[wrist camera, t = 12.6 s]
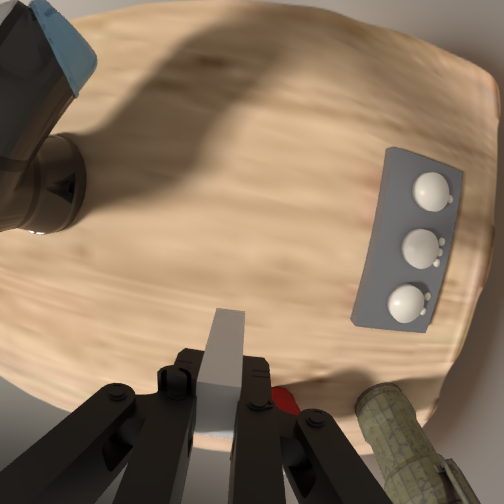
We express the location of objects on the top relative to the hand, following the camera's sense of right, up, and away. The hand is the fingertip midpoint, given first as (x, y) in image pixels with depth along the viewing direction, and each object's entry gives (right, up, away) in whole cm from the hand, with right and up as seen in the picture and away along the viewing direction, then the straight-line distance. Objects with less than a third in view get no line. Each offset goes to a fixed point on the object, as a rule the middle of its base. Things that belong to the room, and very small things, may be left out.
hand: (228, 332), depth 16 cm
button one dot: (+24, +13, +21) cm, 34 cm away
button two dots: (+22, -2, +23) cm, 32 cm away
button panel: (+23, +5, +23) cm, 33 cm away
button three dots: (+23, +5, +22) cm, 32 cm away
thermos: (+23, -21, +28) cm, 42 cm away
